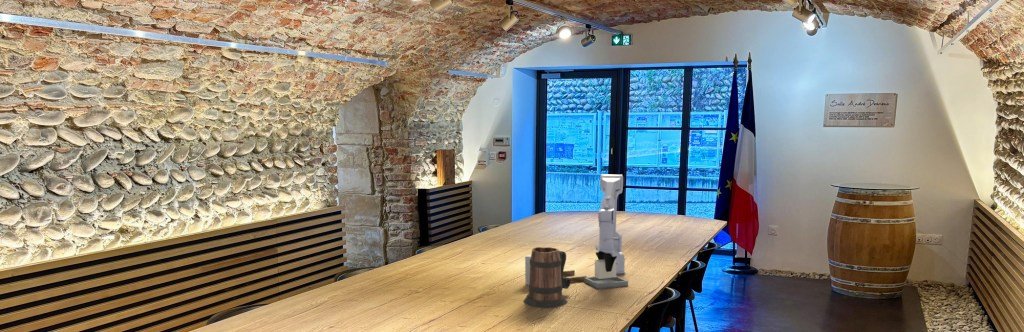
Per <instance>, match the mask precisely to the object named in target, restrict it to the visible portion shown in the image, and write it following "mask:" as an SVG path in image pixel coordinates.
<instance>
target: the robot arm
mask: <svg viewBox="0 0 1024 332" xmlns="http://www.w3.org/2000/svg"><path fill="white" fill-rule="evenodd" d="M599 178H600V179H599V186H600V190H601V193H603V194H604V197H602V199H601V203H600V209H599V210H598V215H597V219H598V228H599V229H598V230H599V232H598V233H599V236H598V237H599V240H598V243H599V244H597V245H595V251H596V252H595V255H596V257H597V260H603V259H604V260H605V265H606V272H611V271H612V267H613V264H614V261H615V260H616V263H617V264H616V275H619V274H626V271H625V266H626V265H625V262H626V261H625V259H626V258H625V254H624V253H623V252H622V251H623V237H622V234H620V232H619V231H617V211H618V209H617V208H618V207H617V206H618V202H617V201H618V197H619V195H620V194H622V193H623V190H624V189H623V187H624V176H623V174H622V173H621V174H605V173H604V174H603V173H601V174H600V177H599Z"/></svg>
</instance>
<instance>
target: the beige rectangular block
mask: <svg viewBox="0 0 1024 332" xmlns="http://www.w3.org/2000/svg"><path fill="white" fill-rule="evenodd" d="M616 264H617V263H616V260H615V261H614V264H613V267H612V271H611V272H606V265H605V260H604V259H603V260H598V259H595V260H594V277H596V278H598V279H604V278H613V277H616V276H617V274H616Z"/></svg>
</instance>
